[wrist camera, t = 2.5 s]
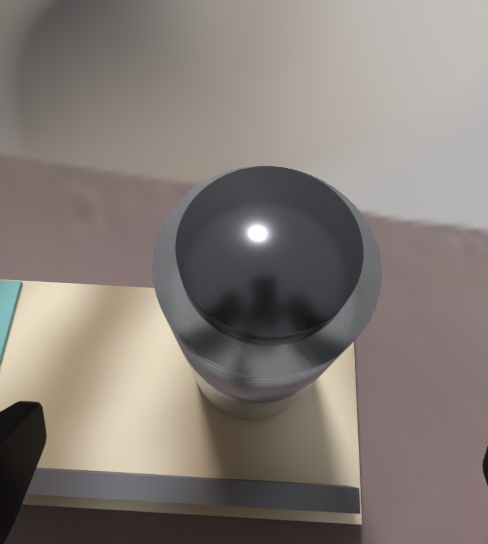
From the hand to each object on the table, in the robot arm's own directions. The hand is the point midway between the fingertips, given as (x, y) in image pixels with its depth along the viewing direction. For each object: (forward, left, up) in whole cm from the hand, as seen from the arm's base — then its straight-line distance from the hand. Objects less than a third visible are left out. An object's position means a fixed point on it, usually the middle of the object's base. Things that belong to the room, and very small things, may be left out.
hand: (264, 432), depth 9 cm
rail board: (+5, +5, -10) cm, 13 cm away
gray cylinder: (+3, -2, -10) cm, 10 cm away
